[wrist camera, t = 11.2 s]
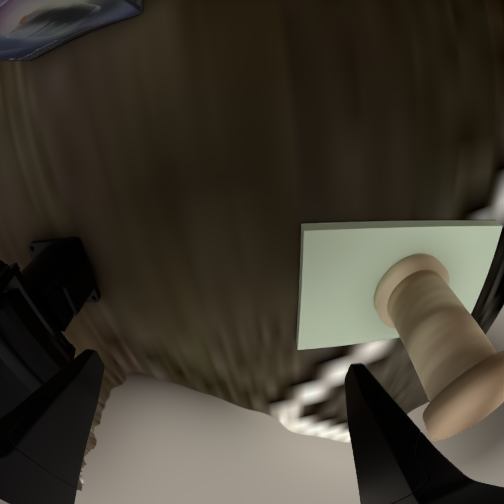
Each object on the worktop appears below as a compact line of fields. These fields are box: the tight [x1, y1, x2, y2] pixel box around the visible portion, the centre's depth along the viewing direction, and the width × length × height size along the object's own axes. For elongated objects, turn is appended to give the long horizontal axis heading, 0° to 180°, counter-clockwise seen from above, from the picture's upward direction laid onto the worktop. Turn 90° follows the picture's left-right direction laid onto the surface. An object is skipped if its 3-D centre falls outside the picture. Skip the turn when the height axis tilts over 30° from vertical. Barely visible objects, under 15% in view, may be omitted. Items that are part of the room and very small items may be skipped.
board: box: [296, 220, 502, 350], centre depth 23 cm, size 20×12×1 cm, turn 93°
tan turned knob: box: [374, 253, 504, 440], centre depth 17 cm, size 7×7×13 cm
